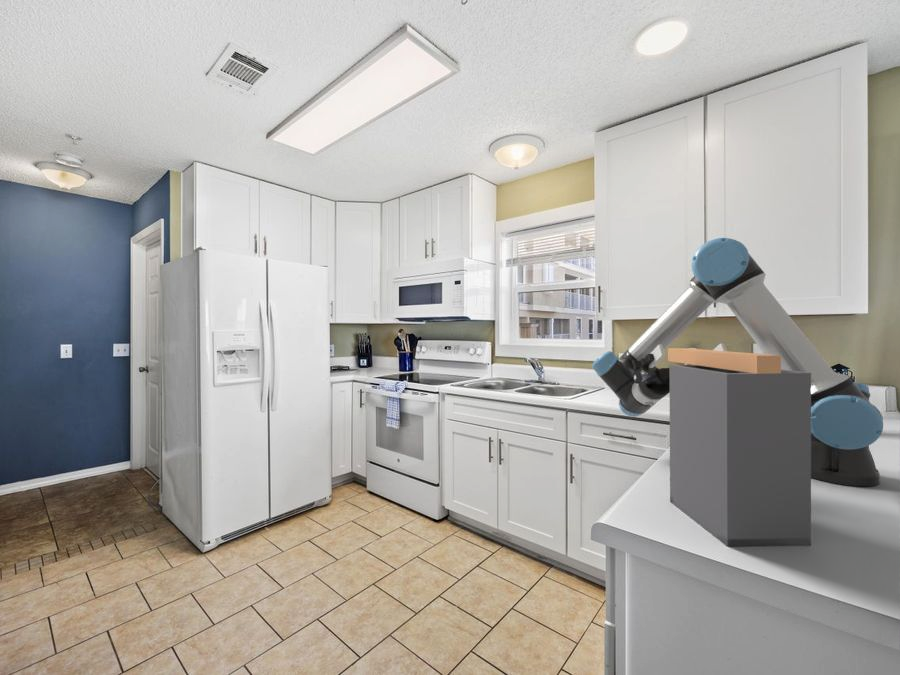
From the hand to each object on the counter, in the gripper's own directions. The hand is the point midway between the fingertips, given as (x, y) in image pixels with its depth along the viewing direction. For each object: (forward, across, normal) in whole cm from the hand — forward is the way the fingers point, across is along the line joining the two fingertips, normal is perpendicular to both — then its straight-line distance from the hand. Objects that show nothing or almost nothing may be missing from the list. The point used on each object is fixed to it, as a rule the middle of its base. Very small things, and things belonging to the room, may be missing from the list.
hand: (693, 349), depth 90 cm
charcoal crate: (-6, 0, -34) cm, 34 cm away
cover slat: (+5, 0, -6) cm, 8 cm away
